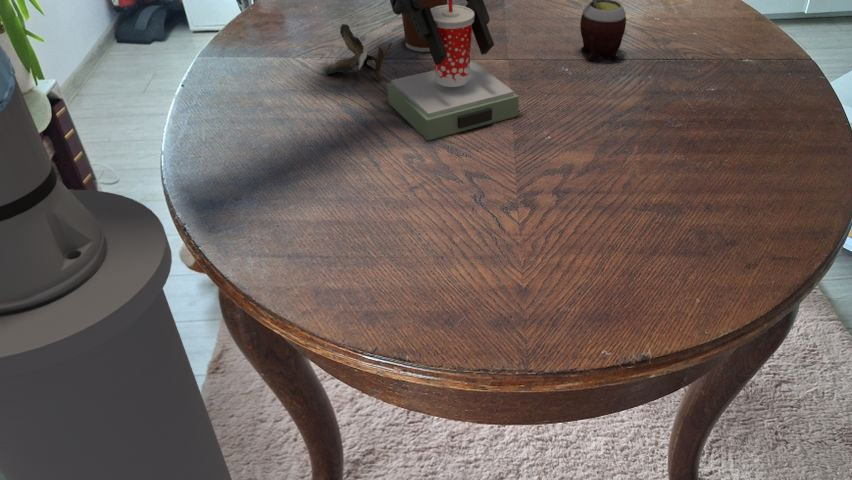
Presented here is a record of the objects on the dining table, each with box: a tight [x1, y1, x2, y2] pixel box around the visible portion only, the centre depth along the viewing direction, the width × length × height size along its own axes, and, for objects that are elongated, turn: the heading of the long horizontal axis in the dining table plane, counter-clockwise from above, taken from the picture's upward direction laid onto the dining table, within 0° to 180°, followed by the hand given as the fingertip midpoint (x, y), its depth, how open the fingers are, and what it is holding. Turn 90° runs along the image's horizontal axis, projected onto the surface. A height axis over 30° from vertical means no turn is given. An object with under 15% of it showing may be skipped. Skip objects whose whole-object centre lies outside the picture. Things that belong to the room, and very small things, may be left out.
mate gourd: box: [579, 0, 627, 63], centre depth 113 cm, size 8×8×15 cm
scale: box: [386, 60, 520, 141], centre depth 101 cm, size 14×12×4 cm
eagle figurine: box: [326, 23, 393, 81], centre depth 109 cm, size 8×7×9 cm
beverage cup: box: [430, 0, 474, 87], centre depth 95 cm, size 6×6×14 cm
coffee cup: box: [401, 0, 448, 53], centre depth 116 cm, size 9×9×12 cm
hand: (464, 54), depth 94 cm, fingers closed on beverage cup, 6 cm apart
